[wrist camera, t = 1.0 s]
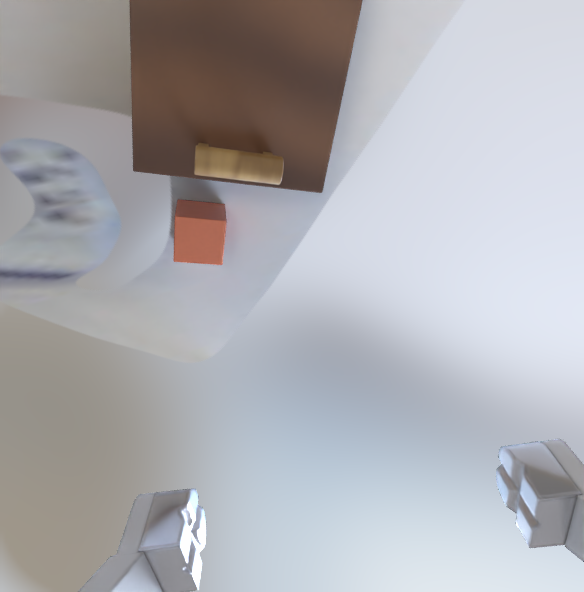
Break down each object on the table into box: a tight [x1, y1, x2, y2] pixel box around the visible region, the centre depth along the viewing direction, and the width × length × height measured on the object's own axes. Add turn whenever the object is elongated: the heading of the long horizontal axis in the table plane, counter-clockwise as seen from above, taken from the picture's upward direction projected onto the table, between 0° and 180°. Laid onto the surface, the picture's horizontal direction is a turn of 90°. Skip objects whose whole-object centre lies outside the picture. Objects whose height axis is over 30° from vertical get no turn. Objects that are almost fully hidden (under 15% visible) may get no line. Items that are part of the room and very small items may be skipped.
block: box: [174, 199, 227, 265], centre depth 40 cm, size 4×4×4 cm
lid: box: [130, 0, 362, 193], centre depth 25 cm, size 17×14×5 cm
